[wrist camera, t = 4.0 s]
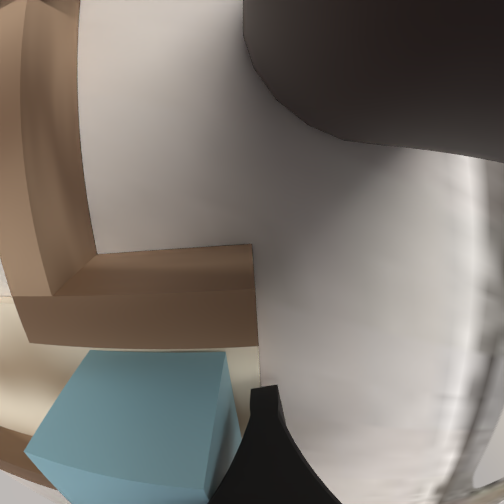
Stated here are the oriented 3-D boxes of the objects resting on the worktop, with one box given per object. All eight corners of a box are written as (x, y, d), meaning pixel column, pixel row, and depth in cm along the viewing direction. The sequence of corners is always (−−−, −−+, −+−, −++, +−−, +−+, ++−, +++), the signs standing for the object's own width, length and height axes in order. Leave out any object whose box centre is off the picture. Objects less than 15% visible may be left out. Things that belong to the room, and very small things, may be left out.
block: (242, 443, 12) (235, 549, 7) (130, 437, 12) (98, 527, 7) (225, 351, 10) (203, 489, 5) (89, 349, 10) (23, 451, 6)
